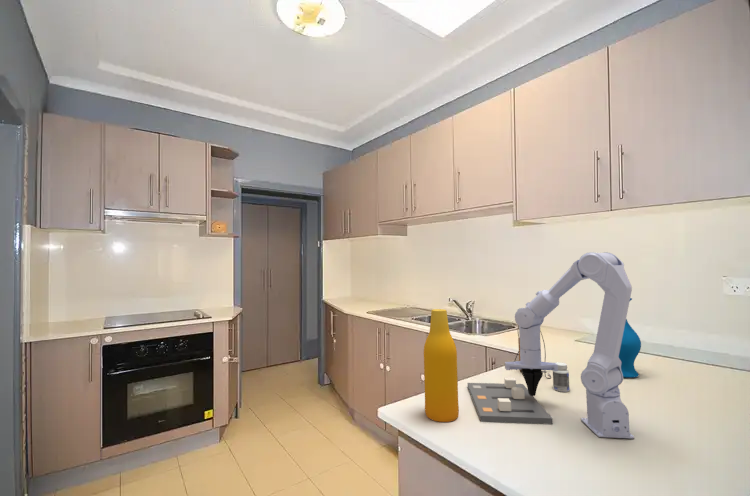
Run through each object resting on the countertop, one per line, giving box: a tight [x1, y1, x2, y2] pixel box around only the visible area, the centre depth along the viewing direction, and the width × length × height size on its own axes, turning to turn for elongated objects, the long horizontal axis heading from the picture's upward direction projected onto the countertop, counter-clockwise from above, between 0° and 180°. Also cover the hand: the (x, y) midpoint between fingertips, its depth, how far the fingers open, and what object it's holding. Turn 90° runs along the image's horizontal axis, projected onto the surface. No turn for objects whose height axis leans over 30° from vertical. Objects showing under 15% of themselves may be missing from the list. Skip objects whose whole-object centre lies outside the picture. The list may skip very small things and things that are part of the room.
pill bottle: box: [552, 361, 570, 393], centre depth 115 cm, size 5×5×8 cm
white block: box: [497, 398, 511, 411], centre depth 96 cm, size 2×3×2 cm
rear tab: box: [503, 377, 517, 388], centre depth 113 cm, size 2×3×2 cm
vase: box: [619, 297, 642, 379], centre depth 129 cm, size 12×13×28 cm
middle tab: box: [512, 387, 525, 399], centre depth 104 cm, size 2×3×2 cm
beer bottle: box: [423, 308, 460, 423], centre depth 97 cm, size 9×9×29 cm
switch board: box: [467, 382, 554, 425], centre depth 104 cm, size 26×18×2 cm
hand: (531, 394), depth 103 cm, fingers closed
